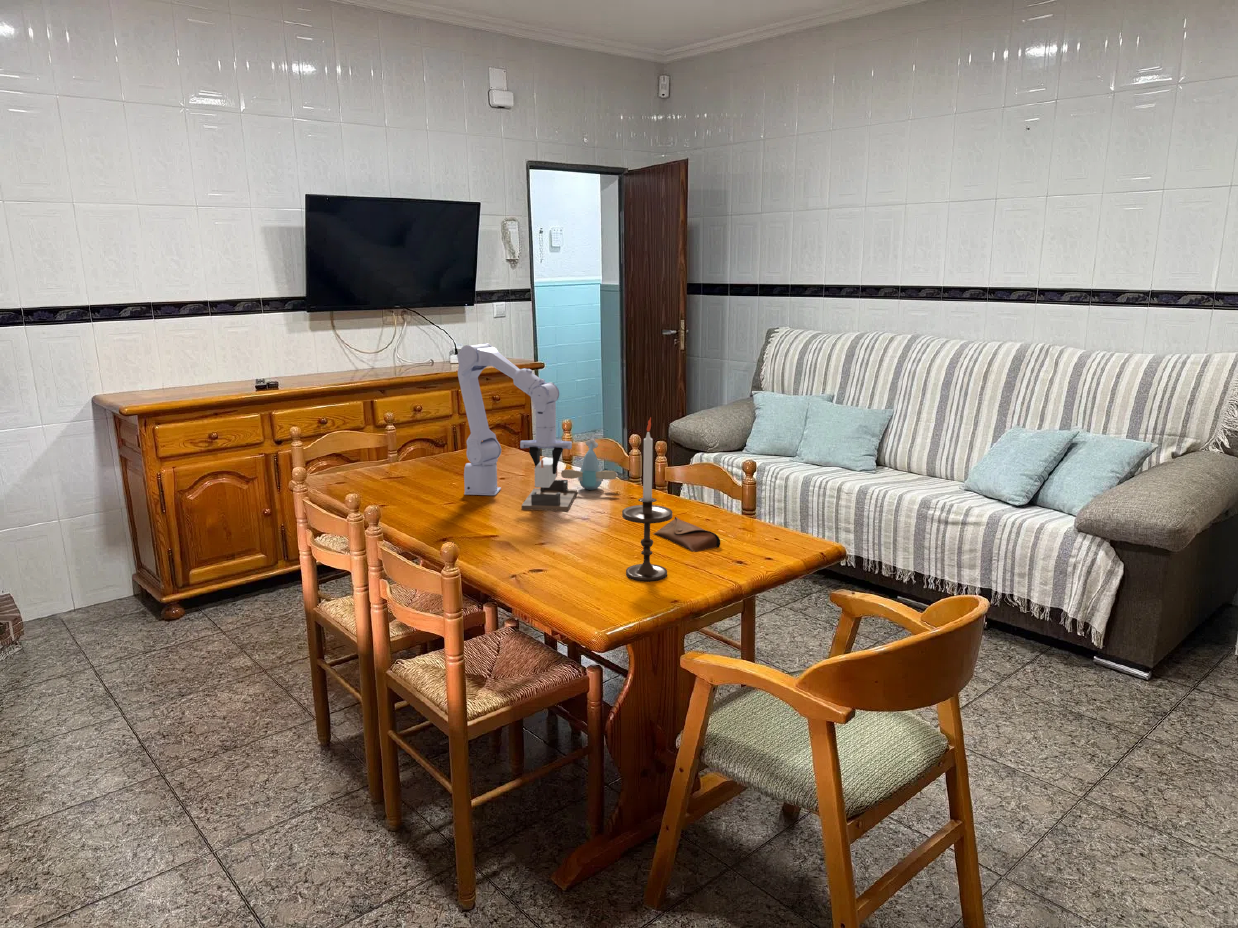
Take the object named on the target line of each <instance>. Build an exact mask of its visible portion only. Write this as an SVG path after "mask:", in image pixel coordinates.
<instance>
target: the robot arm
mask: <svg viewBox="0 0 1238 928" xmlns="http://www.w3.org/2000/svg"><path fill="white" fill-rule="evenodd" d="M456 358H457V361H458V367H457V377H458V378H457V379H458V382H459V386H460V391H461V396H462V399H463V405H464V409H465V414H466V417H467V422H468V427H469V431H470V434H469V435H468V437H467V439H466V442H465V443H466V458H467V460H468V461H469V462H466V463H465V466H464V469H463V470H464V472H463V479H464V480H463V481H464V493H463V494H464V495H465V496H467V495H469V496H470V495H471V496H475V495H476V496H477V495H478V496H496V495H497V494H498V493H499V492H500V491H501V490H502V487H500V486H498V474H497V473H498V466H497V464H498V463H497V462H498V460H499V457H501V454H502V447H501V444H500V442H499V441H498V439H497V435H496V433H495V432H493V431H492V430H491V429H490V427H489V422H488V418H487V413H486V410H485V409H486V408H485V404H484V400H483V395H482V391H481V387H480V382H479V376H480V375H481V373H482V371H484V370H485V369H486V368H487V367H488V366H489V367H490V366H491V367H493V368H495V369H496V370H498V371H500V373H503V374H504V375H505V376H508V377H509V378H511V379H512V380H513V385H514V386H515V387H516V388H518V389H519V390H521V391H522V392H523V393H525V394H526V395H528V396H529V397H530V399H531V401H532V403H533V407H534V410H535V411H534V413H535V415H534V416H535V420H534V421H535V439H531V440H528V439H527V440H520V441H519V443H520V444H519V446H520V449H529V450H528V454H529V456H530V457H531V460H532V462H533V464H534V468H535V467H536V466H537V465H538V463H539V462H540V461H541V449H552V450H551V453H552V454H551V455H552V458H553V474H556V471H557V472H558V463H559V461H560V458H561V455H562V453H563V452H564V451H563V450H565V449H566V450H572V448H573V447H572V446H573V442H572V441H569V440H568V441H567V440H559V439H557V423H556V422H557V421H556V420H557V417H556V416H557V415H556V414H557V413H556V411H557V410H556V408H557V407H556V404H557V403H556V402H557V401H558V400H559V397H560V390H559V387H558V386H557V385H556V384H555V383H554V382H551V381H550V382H546V380H545V379H544V378H540V377H539V376H538V375H536V374H534V373H533V370H532V369H530V368H526V367H525V368H519V367H518V366H517V365H516V364H514V363H513V362H511V361H510V360H509V359H508V358H507V357H505V356H504V355H503V354H502V353H500V352H499V351H498V349H497V348H496V347H494V346H493V345H491V344H490V343H489V342H483V343H479V344H478V343H477V344H465V345H463V346H462V347H461V349H460V350H459V351H458V353H457V354H456Z"/></svg>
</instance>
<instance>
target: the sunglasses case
mask: <svg viewBox="0 0 1238 928" xmlns="http://www.w3.org/2000/svg"><path fill="white" fill-rule="evenodd" d="M652 535H654V536H657V537H660V538H663V539H665V540H667V539H668V540H667V541H669V540H670V542H672V543H674V544H676V545H679V546H680V547H683V548H684V549H686V550H688V549H689V550H688V551H690V552H693V553H694V552H695V553H697V552H701V551H706V550H711V549H716V548H720V546H721V539H720V537H719V536H718V535H717V534H716V533H715V532H713V531H711V530H710V531H709V530H706V529H703V528H702V527H699V526H697V525H695V524H693V523H690V522H686V521H684V520H682V519H680V518H678V517H677V516H675V517H674V519H673V520H670V522H667V524H665V525H663V527H661V528H660V529H658V530H657V531H656V532H653V533H652ZM715 547H716V548H715ZM705 549H706V550H705Z"/></svg>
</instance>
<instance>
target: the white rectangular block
mask: <svg viewBox="0 0 1238 928" xmlns="http://www.w3.org/2000/svg"><path fill="white" fill-rule="evenodd" d="M557 477H558V470H557V471H556V474H553V457H543V458H542V459H540V462H539V463H538V465H537V466H536V467H535V466H534V488H540V487H543V488H549V487H550V486H551V484H552V483H553V482H554V480H557V479H556V478H557Z"/></svg>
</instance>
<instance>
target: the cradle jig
mask: <svg viewBox="0 0 1238 928" xmlns="http://www.w3.org/2000/svg"><path fill="white" fill-rule="evenodd" d="M568 480H569V479H555V480H554V482H553V483H552V484H551V486H550V487H549V488H543V487H539V488H538V487H534V488H533V489H532V491H531V492H530V493H529V495H528V496H527V497H526V499H525V500H524V501H523V503H522V504H521V510H523V511H524V510H525V511H554V512H555V511H557V512H560V511H562V512H565V511H566V512H568V511H569V509H570V508H571V506H572V503H573V502H574V500H575V498H576V496H577V494H578V489H577V488H576V489H572V488H571V489H570V488H569V489H568V487H569V484H568Z"/></svg>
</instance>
